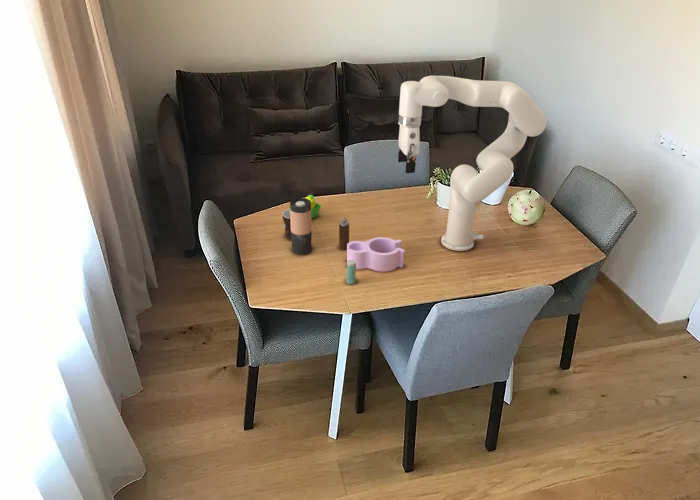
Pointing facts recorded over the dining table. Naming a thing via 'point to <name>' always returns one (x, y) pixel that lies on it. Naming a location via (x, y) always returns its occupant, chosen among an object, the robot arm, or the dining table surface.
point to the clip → (376, 254)
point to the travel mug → (301, 225)
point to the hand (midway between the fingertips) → (406, 167)
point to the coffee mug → (287, 223)
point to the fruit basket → (313, 206)
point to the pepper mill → (343, 234)
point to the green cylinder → (351, 272)
